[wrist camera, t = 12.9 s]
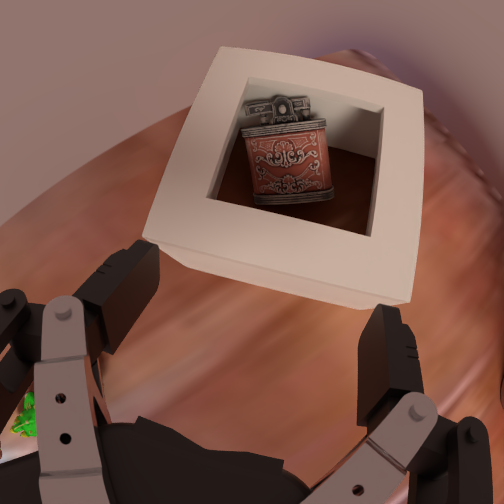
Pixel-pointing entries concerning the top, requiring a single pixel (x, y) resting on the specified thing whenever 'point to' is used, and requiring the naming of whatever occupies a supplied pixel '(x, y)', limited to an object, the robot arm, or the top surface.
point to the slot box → (284, 227)
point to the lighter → (288, 153)
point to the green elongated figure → (26, 418)
